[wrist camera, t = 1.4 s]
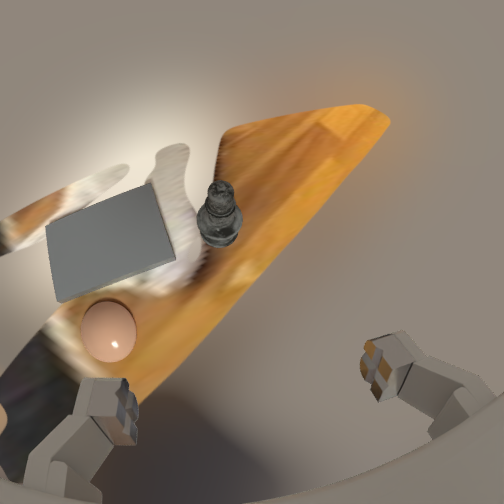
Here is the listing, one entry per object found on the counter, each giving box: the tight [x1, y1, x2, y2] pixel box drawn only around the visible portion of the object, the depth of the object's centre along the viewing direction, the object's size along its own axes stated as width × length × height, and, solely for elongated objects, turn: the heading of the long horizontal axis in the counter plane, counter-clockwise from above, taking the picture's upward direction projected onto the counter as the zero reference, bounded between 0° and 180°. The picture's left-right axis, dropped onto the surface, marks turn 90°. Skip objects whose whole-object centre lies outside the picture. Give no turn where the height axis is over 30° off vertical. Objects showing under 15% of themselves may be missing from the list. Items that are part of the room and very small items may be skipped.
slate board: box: [45, 183, 176, 303], centre depth 37 cm, size 18×12×2 cm, turn 113°
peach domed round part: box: [81, 301, 137, 362], centre depth 34 cm, size 8×8×1 cm
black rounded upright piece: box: [197, 180, 243, 248], centre depth 35 cm, size 6×6×12 cm
